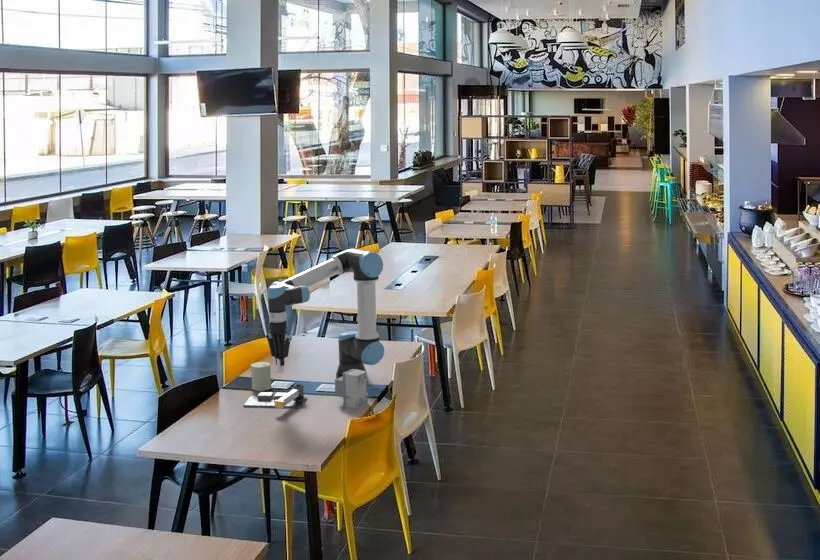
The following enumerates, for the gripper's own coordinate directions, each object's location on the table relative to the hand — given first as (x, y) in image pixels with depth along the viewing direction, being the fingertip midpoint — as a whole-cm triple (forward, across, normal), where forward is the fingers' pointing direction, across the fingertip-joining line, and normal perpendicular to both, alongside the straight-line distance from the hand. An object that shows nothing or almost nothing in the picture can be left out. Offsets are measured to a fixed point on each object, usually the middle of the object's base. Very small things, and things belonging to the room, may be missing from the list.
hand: (280, 372), depth 415 cm
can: (+16, -25, +16) cm, 34 cm away
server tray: (+16, -6, +2) cm, 17 cm away
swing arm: (+14, +4, +1) cm, 15 cm away
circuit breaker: (+16, +24, +18) cm, 34 cm away
